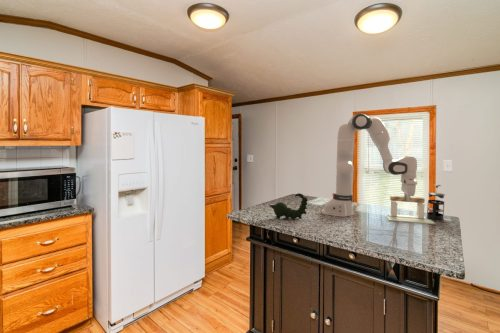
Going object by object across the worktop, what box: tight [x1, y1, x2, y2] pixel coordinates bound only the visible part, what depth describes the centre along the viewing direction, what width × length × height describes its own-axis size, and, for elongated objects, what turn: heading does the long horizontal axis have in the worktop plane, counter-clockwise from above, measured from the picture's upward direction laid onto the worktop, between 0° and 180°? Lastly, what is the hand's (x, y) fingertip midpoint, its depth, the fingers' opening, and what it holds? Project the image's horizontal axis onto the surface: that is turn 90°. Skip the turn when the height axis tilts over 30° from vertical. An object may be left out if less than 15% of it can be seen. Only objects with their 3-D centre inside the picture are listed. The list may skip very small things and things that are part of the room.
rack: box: [388, 200, 427, 219], centre depth 182 cm, size 22×5×10 cm, turn 72°
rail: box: [389, 195, 426, 204], centre depth 181 cm, size 20×3×3 cm, turn 72°
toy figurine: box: [269, 192, 308, 220], centre depth 180 cm, size 9×19×25 cm
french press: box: [426, 184, 446, 222], centre depth 177 cm, size 12×9×23 cm
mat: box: [386, 216, 436, 225], centre depth 174 cm, size 26×8×1 cm, turn 72°
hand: (406, 200), depth 181 cm, fingers closed on rail, 3 cm apart
